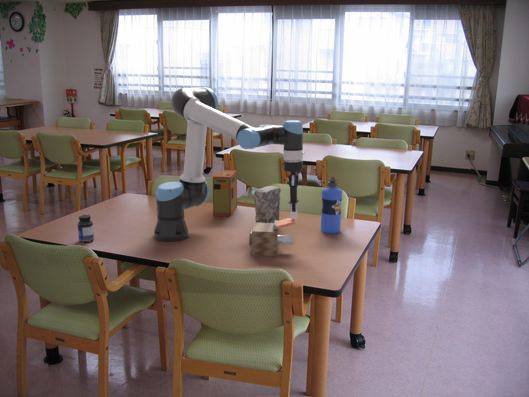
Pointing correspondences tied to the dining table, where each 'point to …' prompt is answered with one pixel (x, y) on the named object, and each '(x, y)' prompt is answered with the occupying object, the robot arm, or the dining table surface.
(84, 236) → the pill bottle
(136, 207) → the dining table surface
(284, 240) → the pin
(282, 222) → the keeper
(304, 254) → the dining table surface
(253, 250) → the block
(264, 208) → the stone block
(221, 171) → the box
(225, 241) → the dining table surface
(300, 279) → the dining table surface
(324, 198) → the water bottle
